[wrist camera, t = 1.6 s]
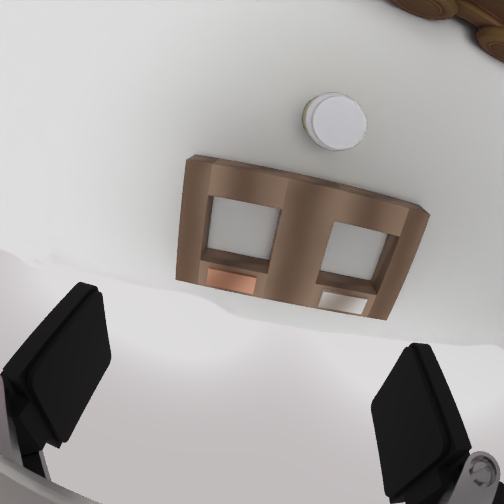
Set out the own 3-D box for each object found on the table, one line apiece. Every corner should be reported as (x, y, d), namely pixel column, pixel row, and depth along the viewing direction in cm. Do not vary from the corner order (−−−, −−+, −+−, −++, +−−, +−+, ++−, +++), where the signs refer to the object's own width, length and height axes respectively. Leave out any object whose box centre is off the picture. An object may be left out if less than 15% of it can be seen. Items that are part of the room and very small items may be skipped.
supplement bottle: (359, 128, 28) (384, 137, 21) (318, 151, 30) (329, 167, 22) (333, 86, 27) (350, 79, 19) (292, 110, 28) (294, 111, 21)
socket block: (419, 205, 31) (431, 216, 28) (380, 305, 36) (387, 322, 33) (195, 154, 31) (185, 160, 28) (183, 266, 37) (174, 281, 34)
